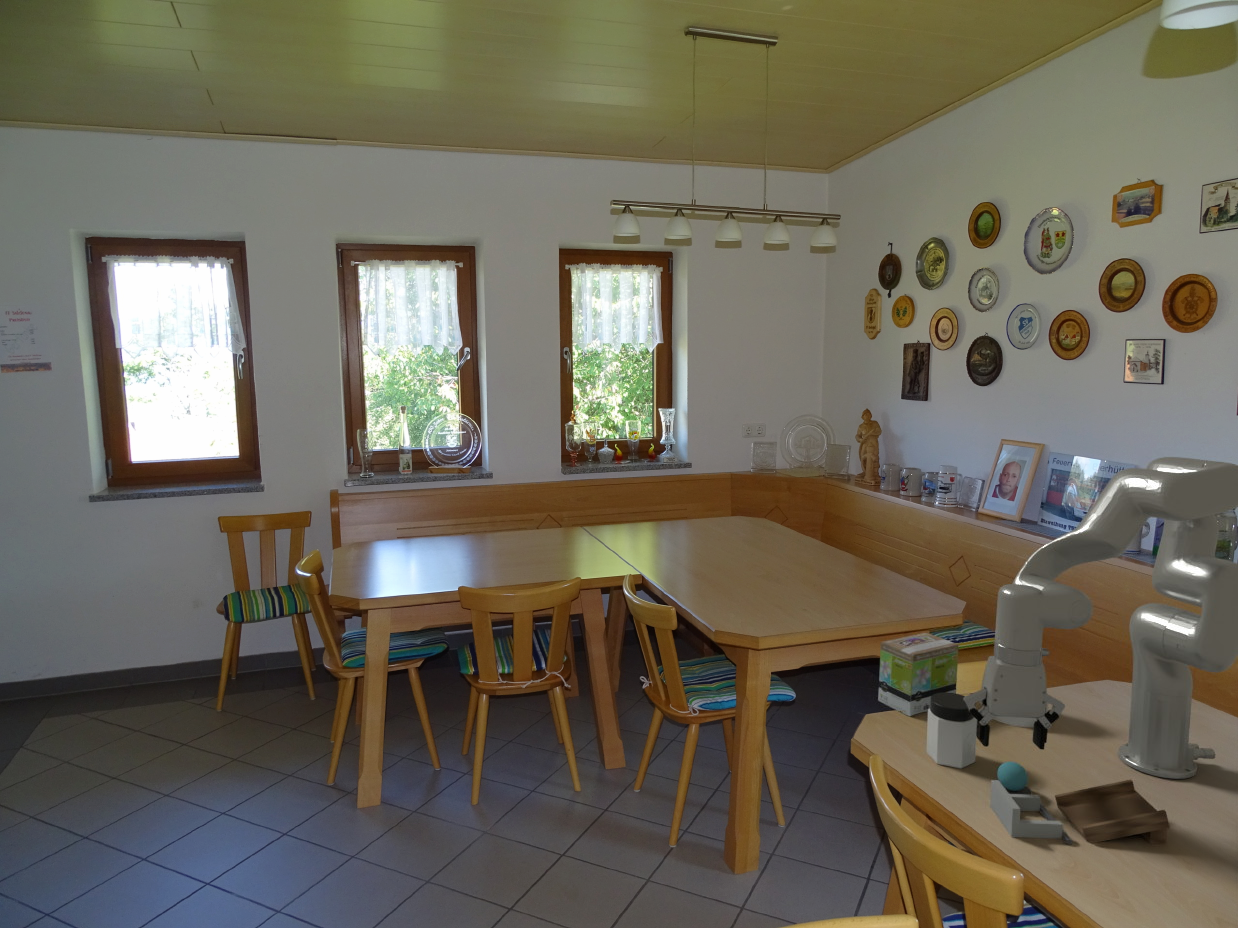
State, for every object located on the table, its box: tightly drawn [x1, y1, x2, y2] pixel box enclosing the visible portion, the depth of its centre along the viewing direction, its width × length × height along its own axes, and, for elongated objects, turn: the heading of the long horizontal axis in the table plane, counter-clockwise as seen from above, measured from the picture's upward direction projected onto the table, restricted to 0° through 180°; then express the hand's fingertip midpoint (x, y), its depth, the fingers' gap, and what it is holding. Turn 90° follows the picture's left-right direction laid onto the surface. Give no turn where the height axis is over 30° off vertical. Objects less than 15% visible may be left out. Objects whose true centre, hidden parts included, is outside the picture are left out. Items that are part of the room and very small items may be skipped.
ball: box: [997, 761, 1029, 791], centre depth 141 cm, size 5×5×5 cm
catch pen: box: [989, 779, 1064, 840], centre depth 131 cm, size 8×9×5 cm
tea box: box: [877, 632, 959, 717], centre depth 179 cm, size 15×10×15 cm
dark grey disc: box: [999, 781, 1033, 795], centre depth 141 cm, size 6×6×1 cm
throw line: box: [1039, 801, 1073, 845], centre depth 131 cm, size 1×12×1 cm, turn 175°
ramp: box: [1054, 779, 1170, 844], centre depth 130 cm, size 13×10×6 cm
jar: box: [926, 692, 977, 769], centre depth 153 cm, size 9×8×12 cm
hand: (1010, 744), depth 140 cm, fingers open, 9 cm apart
